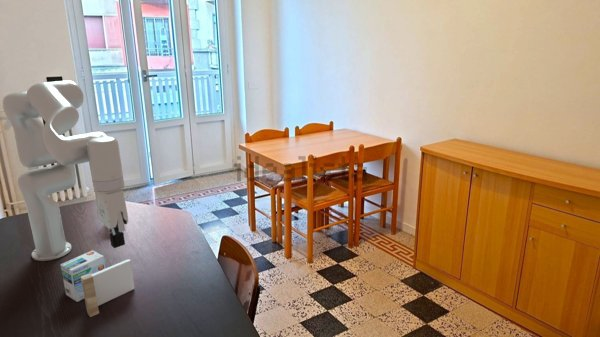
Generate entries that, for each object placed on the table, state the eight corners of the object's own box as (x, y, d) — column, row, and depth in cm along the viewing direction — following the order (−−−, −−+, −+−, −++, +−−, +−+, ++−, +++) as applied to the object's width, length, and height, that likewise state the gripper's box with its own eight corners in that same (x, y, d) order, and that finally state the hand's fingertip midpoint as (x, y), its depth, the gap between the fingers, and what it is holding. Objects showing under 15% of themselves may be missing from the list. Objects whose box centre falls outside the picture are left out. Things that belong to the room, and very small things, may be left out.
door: (89, 310, 121) (83, 279, 118) (87, 308, 121) (81, 278, 118) (134, 288, 131) (130, 260, 128) (132, 287, 132) (128, 258, 128)
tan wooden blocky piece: (67, 287, 132) (60, 253, 128) (75, 284, 134) (69, 250, 130) (90, 317, 118) (83, 280, 115) (99, 313, 120) (92, 276, 116)
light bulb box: (77, 302, 125) (70, 271, 121) (65, 295, 128) (58, 264, 125) (110, 285, 133) (105, 255, 130) (97, 278, 137) (92, 249, 133)
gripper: (83, 180, 114) (94, 241, 120) (104, 194, 104) (115, 260, 110) (111, 174, 119) (120, 232, 125) (134, 186, 109) (143, 250, 115)
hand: (118, 245), depth 117 cm, fingers closed
